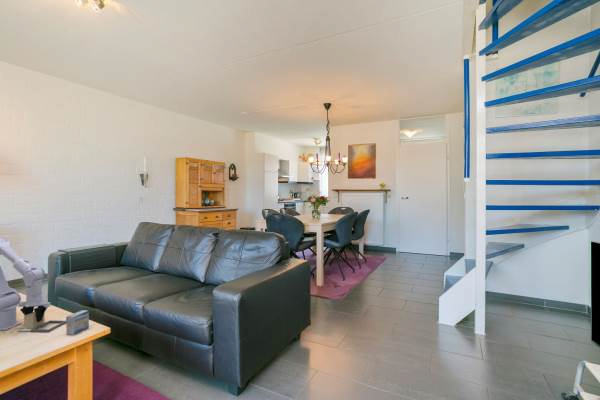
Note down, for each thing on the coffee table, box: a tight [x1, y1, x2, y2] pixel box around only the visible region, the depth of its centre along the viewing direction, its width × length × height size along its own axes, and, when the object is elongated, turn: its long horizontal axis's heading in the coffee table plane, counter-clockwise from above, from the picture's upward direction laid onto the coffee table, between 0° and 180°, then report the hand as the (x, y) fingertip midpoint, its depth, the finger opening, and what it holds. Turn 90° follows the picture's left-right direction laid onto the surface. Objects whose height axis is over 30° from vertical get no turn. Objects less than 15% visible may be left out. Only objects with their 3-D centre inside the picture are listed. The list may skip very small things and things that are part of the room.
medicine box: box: [65, 309, 90, 336], centre depth 139 cm, size 8×4×9 cm, turn 168°
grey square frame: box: [30, 319, 66, 333], centre depth 143 cm, size 9×10×1 cm
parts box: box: [23, 310, 46, 328], centre depth 143 cm, size 4×6×6 cm
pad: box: [17, 321, 47, 333], centre depth 143 cm, size 6×10×1 cm, turn 178°
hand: (34, 321), depth 143 cm, fingers closed on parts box, 4 cm apart
